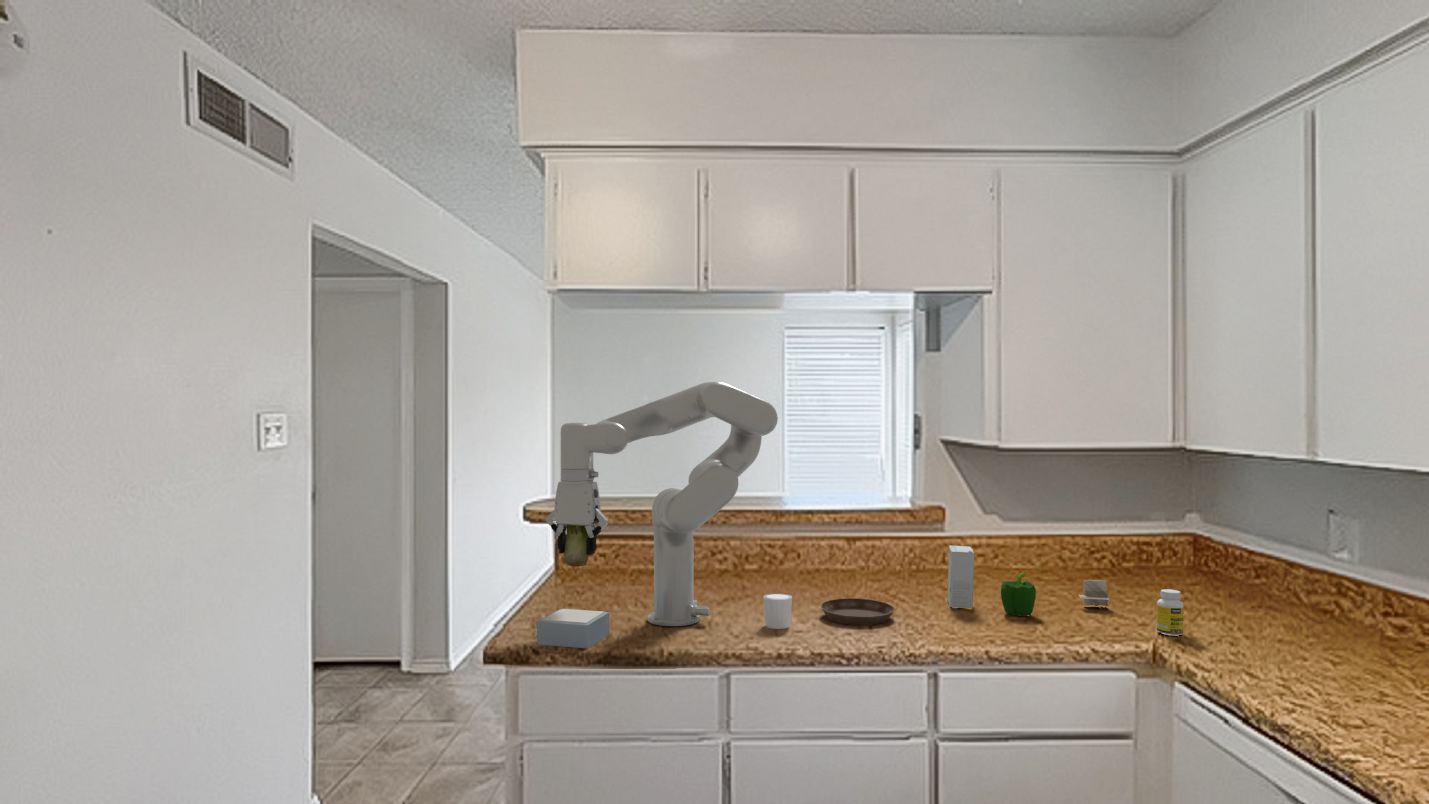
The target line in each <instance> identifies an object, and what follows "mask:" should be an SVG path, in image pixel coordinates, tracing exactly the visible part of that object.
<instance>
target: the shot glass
mask: <svg viewBox="0 0 1429 804" xmlns="http://www.w3.org/2000/svg"><path fill="white" fill-rule="evenodd" d="M762 598H763V599H762V600H763V610H764V611H763V613H764V619H765V620H764V621H765V627H766V628H769V629H772V630H782V629H784V630H785V629H788V628H790V626H791V618H792V617H791V616H792V606H793V605H792V604H793V595H790V594H787V593H767V594H764V595H763V596H762Z"/></svg>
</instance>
